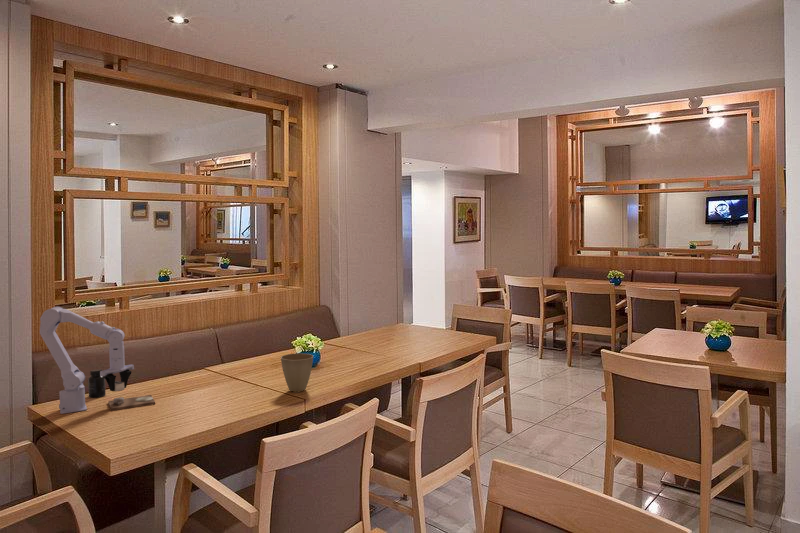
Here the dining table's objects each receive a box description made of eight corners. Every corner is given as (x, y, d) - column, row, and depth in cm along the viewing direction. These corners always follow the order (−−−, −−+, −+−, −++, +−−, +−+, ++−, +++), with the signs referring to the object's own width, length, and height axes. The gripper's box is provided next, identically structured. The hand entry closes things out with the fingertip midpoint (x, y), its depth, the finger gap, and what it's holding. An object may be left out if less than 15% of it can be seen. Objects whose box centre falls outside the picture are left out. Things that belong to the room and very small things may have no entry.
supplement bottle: (108, 396, 254) (107, 370, 253) (91, 399, 249) (90, 372, 248) (102, 393, 259) (101, 367, 258) (86, 396, 254) (85, 370, 253)
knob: (109, 390, 237) (109, 382, 237) (119, 387, 242) (119, 379, 241) (116, 392, 235) (116, 383, 235) (126, 389, 239) (126, 381, 239)
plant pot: (292, 396, 249) (291, 361, 248) (275, 390, 260) (274, 356, 259) (320, 390, 258) (319, 356, 258) (303, 384, 270) (302, 351, 269)
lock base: (111, 410, 231) (110, 403, 231) (108, 403, 242) (108, 396, 242) (155, 404, 240) (154, 397, 240) (150, 396, 251) (150, 390, 251)
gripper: (107, 362, 229) (108, 394, 230) (138, 355, 242) (139, 386, 243) (96, 360, 233) (97, 392, 233) (127, 354, 245) (128, 384, 246)
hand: (118, 389), depth 238 cm, fingers closed on knob, 5 cm apart
